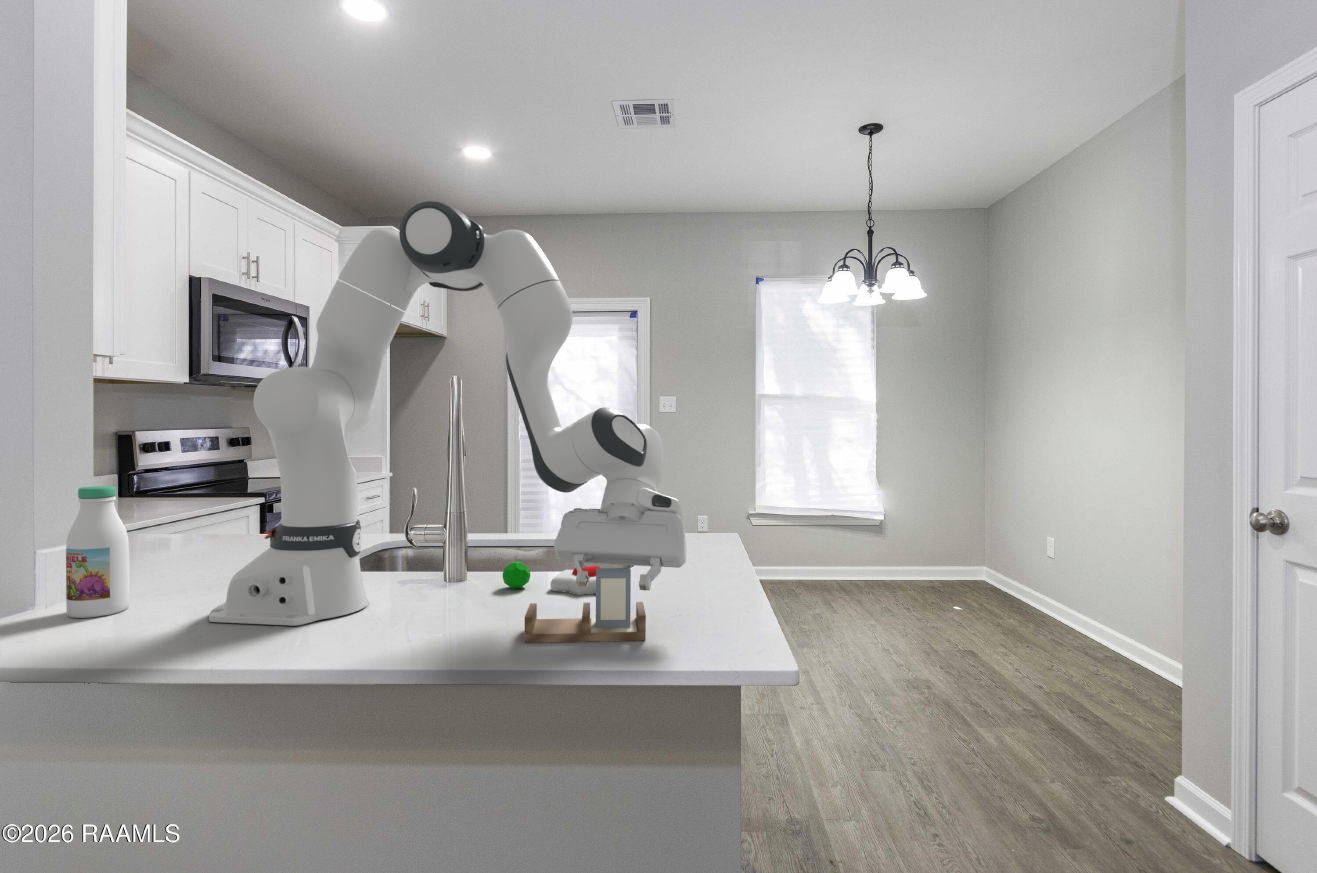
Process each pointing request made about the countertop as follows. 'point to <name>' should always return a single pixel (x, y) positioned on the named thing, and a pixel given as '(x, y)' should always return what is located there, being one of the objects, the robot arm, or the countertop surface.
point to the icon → (568, 581)
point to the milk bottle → (97, 557)
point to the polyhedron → (516, 575)
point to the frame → (613, 597)
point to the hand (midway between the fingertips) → (612, 586)
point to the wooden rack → (581, 628)
